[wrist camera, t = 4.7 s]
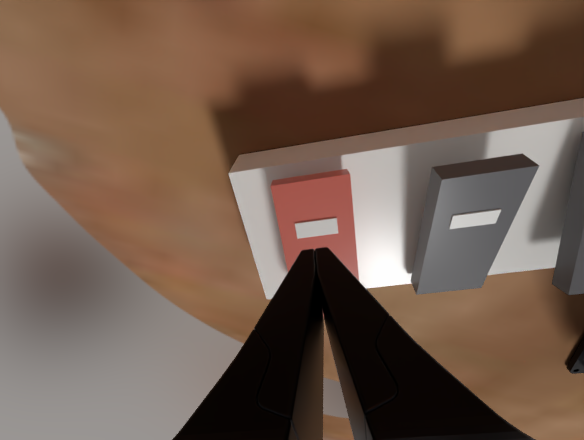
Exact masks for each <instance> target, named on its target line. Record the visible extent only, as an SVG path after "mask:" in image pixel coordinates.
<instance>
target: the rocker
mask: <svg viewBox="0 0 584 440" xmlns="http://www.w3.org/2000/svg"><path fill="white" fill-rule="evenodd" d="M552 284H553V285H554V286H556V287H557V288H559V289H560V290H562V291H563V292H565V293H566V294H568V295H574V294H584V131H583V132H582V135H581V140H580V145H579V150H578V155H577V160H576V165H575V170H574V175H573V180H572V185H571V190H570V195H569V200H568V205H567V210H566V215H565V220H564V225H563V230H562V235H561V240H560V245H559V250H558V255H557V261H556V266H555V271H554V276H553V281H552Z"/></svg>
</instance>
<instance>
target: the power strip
mask: <svg viewBox="0 0 584 440" xmlns="http://www.w3.org/2000/svg"><path fill="white" fill-rule="evenodd" d="M583 131H584V98H581V99H575V100H569V101H562V102H556V103H550V104H544V105H538V106H532V107H526V108H520V109H514V110H508V111H502V112H496V113H490V114H484V115H478V116H472V117H466V118H460V119H454V120H447V121H441V122H435V123H429V124H423V125H417V126H411V127H405V128H399V129H393V130H387V131H381V132H375V133H369V134H363V135H357V136H351V137H345V138H339V139H333V140H326V141H320V142H314V143H308V144H302V145H296V146H290V147H284V148H278V149H272V150H266V151H260V152H254V153H248V154H242V155H239V156H238V158H237V159H236V161H235V163H234V164H233V166H232V168H231V170H230V171H229V173H228V174H229V177H230V181H231V184H232V187H233V190H234V194H235V197H236V200H237V204H238V207H239V210H240V213H241V217H242V220H243V223H244V227H245V230H246V233H247V236H248V240H249V243H250V246H251V249H252V253H253V256H254V259H255V263H256V266H257V269H258V272H259V276H260V279H261V282H262V286H263V289H264V292H265V295H266V299H272V298H273V296H274V294H275V293H276V291H277V290H278V288H279V286H280V285H281V283H282V281H283V280H284V278H285V276H286V275H287V273H288V270H287V265H286V260H285V255H284V250H283V245H282V240H281V236H280V231H279V226H278V221H277V216H276V211H275V206H274V201H273V196H272V191H271V183H272V181H273V180H277V179H284V178H290V177H297V176H303V175H310V174H316V173H323V172H329V171H336V170H342V169H347V170H348V171H349V173H350V178H351V190H352V201H353V213H354V225H355V237H356V249H357V261H358V273H359V282H360V283H361V284H362V285H363V286H364V287H365V288H374V287H383V286H392V285H401V284H410V283H411V276H412V270H413V265H414V260H415V254H416V249H417V244H418V238H419V233H420V228H421V222H422V217H423V212H424V206H425V201H426V196H427V190H428V185H429V180H430V174H431V169H432V167H435V166H442V165H449V164H455V163H462V162H469V161H475V160H482V159H489V158H495V157H502V156H509V155H515V154H522V153H523V154H524V155H525V156H527V157H528V158H530V159H531V160H532V161H534V162H535V163H537V164H538V165H539V168H538V170H537V172H536V174H535V176H534V178H533V180H532V182H531V184H530V187H529V189H528V191H527V193H526V195H525V197H524V199H523V201H522V203H521V205H520V207H519V210H518V212H517V214H516V216H515V218H514V220H513V222H512V224H511V226H510V228H509V231H508V233H507V235H506V237H505V239H504V241H503V243H502V245H501V247H500V249H499V251H498V254H497V256H496V258H495V260H494V262H493V264H492V266H491V268H490V270H489V272H488V274H487V275H492V274H501V273H510V272H519V271H528V270H537V269H546V268H555V266H556V261H557V255H558V250H559V245H560V240H561V235H562V230H563V225H564V220H565V215H566V210H567V205H568V200H569V195H570V190H571V185H572V180H573V175H574V170H575V165H576V160H577V155H578V150H579V145H580V140H581V135H582V132H583Z"/></svg>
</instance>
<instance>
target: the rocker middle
mask: <svg viewBox="0 0 584 440" xmlns="http://www.w3.org/2000/svg"><path fill="white" fill-rule="evenodd" d="M538 168H539V165H538V164H537V163H535V162H534V161H532V160H531V159H530V158H528V157H527V156H525V155H524V154H523V153H522V154H515V155H509V156H502V157H495V158H489V159H482V160H475V161H469V162H462V163H455V164H449V165H442V166H435V167H432V169H431V174H430V180H429V185H428V190H427V196H426V201H425V206H424V212H423V217H422V222H421V228H420V233H419V238H418V244H417V249H416V254H415V260H414V265H413V270H412V276H411V283H412V285H413V288H414V290H415V292H416V295H417V294H426V293H436V292H445V291H455V290H464V289H474V288H481V287H482V285H483V283H484V281H485V279H486V277H487V274H488V272H489V270H490V268H491V266H492V264H493V262H494V260H495V258H496V256H497V254H498V251H499V249H500V247H501V245H502V243H503V241H504V239H505V237H506V235H507V233H508V231H509V228H510V226H511V224H512V222H513V220H514V218H515V216H516V214H517V212H518V210H519V207H520V205H521V203H522V201H523V199H524V197H525V195H526V193H527V191H528V189H529V187H530V184H531V182H532V180H533V178H534V176H535V174H536V172H537V170H538Z"/></svg>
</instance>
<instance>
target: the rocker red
mask: <svg viewBox="0 0 584 440" xmlns="http://www.w3.org/2000/svg"><path fill="white" fill-rule="evenodd" d="M271 191H272V196H273V201H274V206H275V211H276V216H277V221H278V226H279V231H280V236H281V240H282V245H283V250H284V255H285V260H286V265H287V270H288V271H289V270H290V268H291V267H292V265H293V263H294V262H295V260H296V258H297V257H298V255H299V253H300V252H301V251H302V250H306V249H314V250H315V249H316V248H321V247H328V248H329V249H330V250H331V251H332V252H333V253H334V254H335V255H336V256H337V257H338V259H339V260H340V261H341V262H342V263H343V264H344V265H345V266H346V267H347V268H348V270H349V271H350V272H351V273H352V274H353V275H354V276H355V277H356V278H357V279H358V280H359V273H358V261H357V249H356V237H355V225H354V213H353V201H352V190H351V178H350V173H349V171H348V170H347V169H342V170H336V171H329V172H323V173H316V174H310V175H303V176H297V177H290V178H284V179H277V180H273V181H272V183H271ZM323 318H324V314H323Z"/></svg>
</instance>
